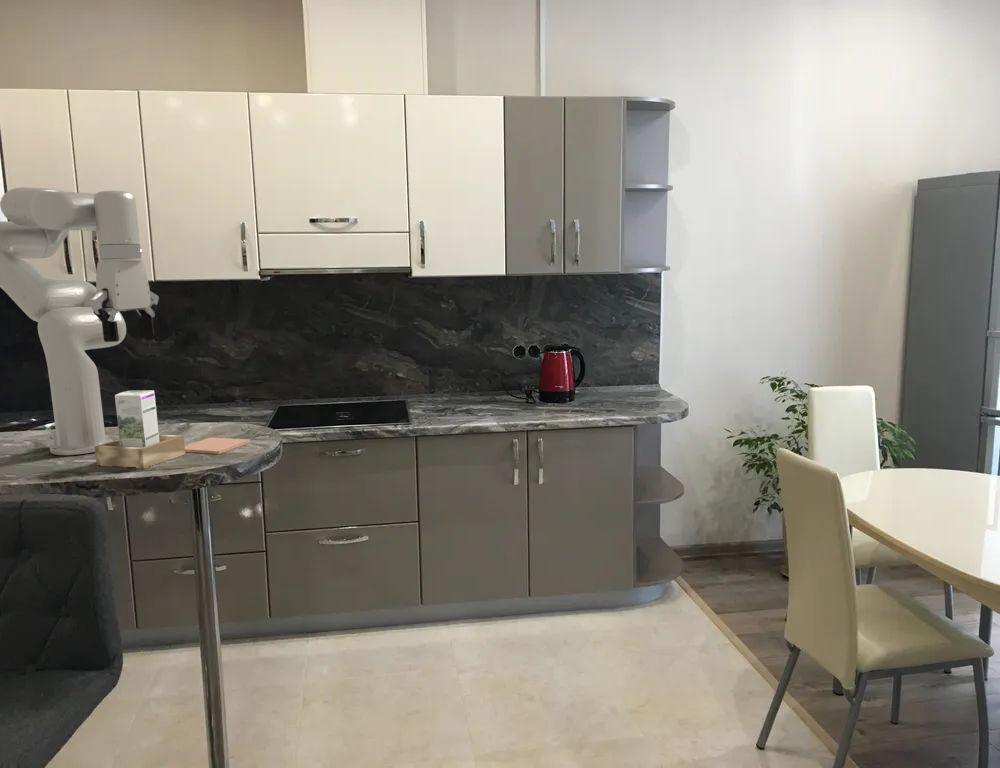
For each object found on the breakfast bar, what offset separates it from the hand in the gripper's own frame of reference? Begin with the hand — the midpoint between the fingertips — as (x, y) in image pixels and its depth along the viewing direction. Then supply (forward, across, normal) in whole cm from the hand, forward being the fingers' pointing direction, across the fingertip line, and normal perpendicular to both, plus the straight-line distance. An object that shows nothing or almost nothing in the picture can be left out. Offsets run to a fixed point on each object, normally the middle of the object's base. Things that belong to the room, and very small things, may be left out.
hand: (130, 339), depth 157 cm
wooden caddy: (+25, 0, 0) cm, 25 cm away
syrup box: (+26, 0, 0) cm, 26 cm away
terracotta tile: (+26, -13, +8) cm, 30 cm away
